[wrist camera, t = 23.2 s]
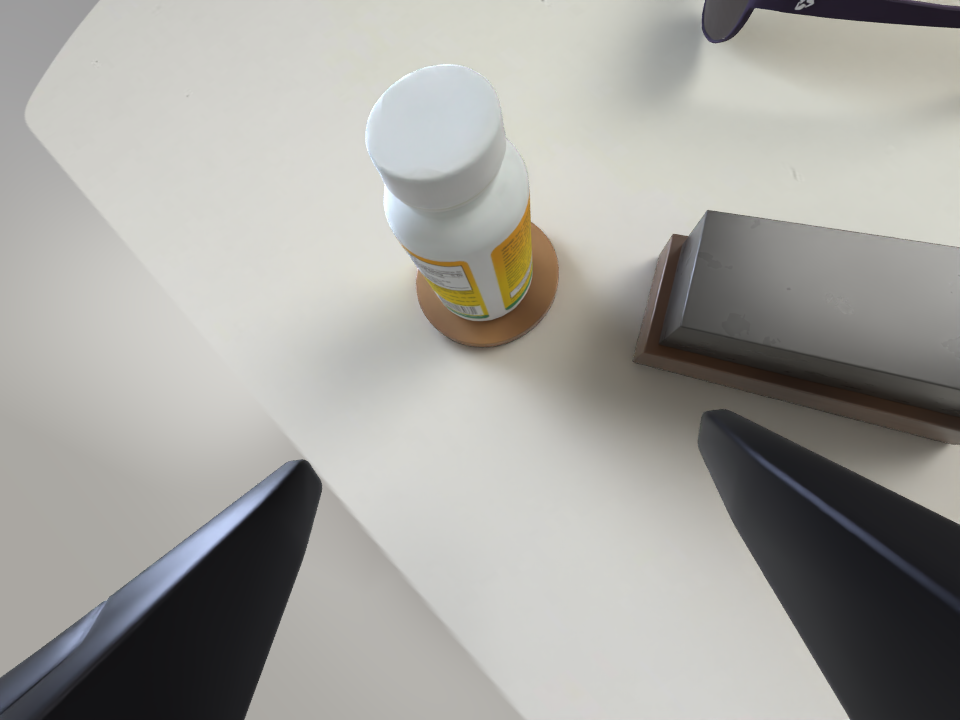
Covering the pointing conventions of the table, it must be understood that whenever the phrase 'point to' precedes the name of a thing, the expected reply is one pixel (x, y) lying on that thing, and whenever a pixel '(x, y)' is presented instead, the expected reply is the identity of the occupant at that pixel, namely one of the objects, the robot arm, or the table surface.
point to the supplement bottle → (455, 188)
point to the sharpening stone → (812, 319)
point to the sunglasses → (826, 13)
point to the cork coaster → (510, 323)
